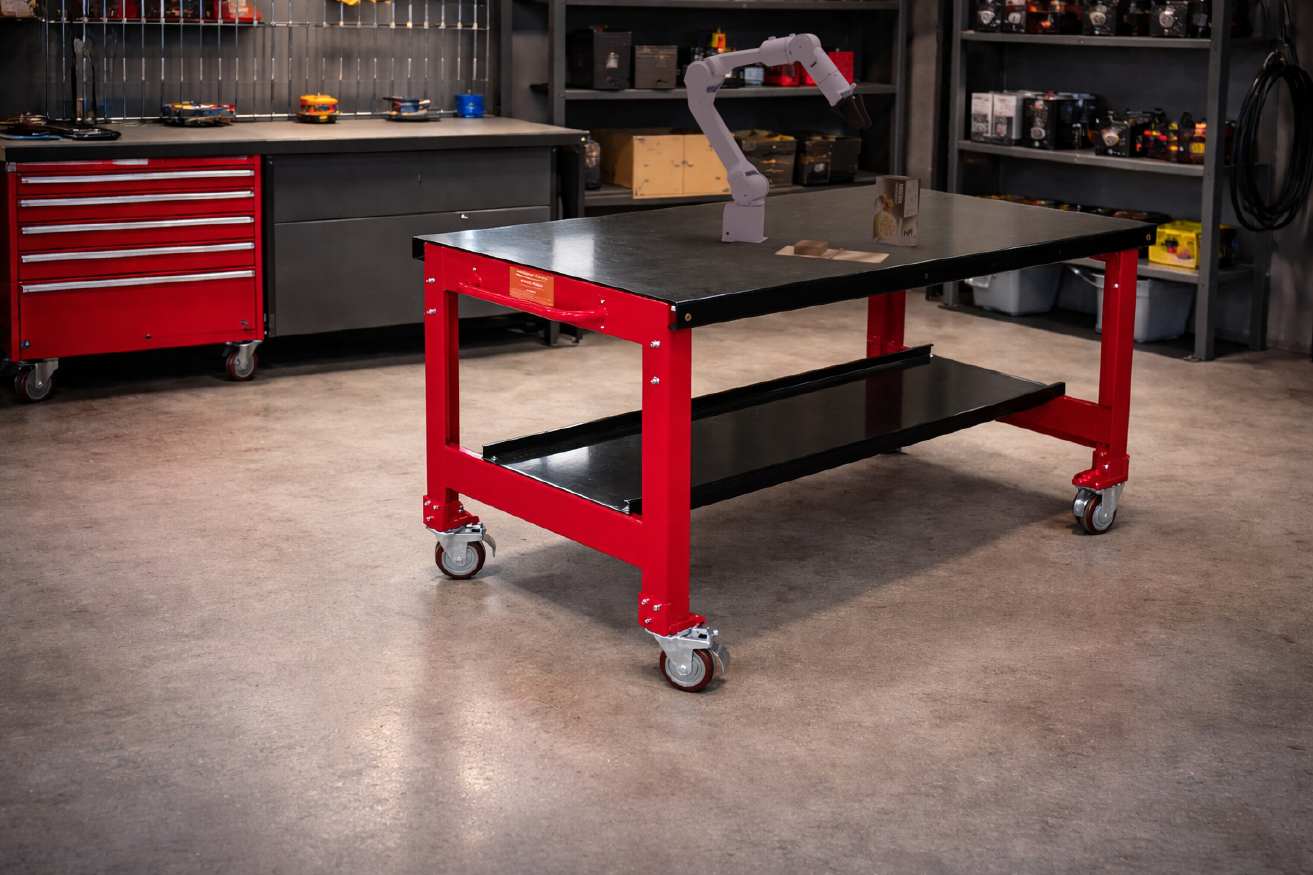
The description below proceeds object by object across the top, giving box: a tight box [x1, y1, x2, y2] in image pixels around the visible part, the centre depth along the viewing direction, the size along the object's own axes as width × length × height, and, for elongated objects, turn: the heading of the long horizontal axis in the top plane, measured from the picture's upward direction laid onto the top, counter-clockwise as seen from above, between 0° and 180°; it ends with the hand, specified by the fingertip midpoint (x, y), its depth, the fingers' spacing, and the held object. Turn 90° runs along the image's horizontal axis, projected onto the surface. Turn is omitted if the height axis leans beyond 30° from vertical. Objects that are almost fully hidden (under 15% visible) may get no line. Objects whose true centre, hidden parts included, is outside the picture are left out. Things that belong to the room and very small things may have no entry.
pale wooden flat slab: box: [774, 245, 890, 264], centre depth 309 cm, size 24×12×1 cm, turn 71°
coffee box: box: [871, 174, 922, 247], centre depth 324 cm, size 9×6×16 cm
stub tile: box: [793, 239, 829, 256], centre depth 310 cm, size 6×8×2 cm
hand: (864, 127), depth 306 cm, fingers open, 7 cm apart
